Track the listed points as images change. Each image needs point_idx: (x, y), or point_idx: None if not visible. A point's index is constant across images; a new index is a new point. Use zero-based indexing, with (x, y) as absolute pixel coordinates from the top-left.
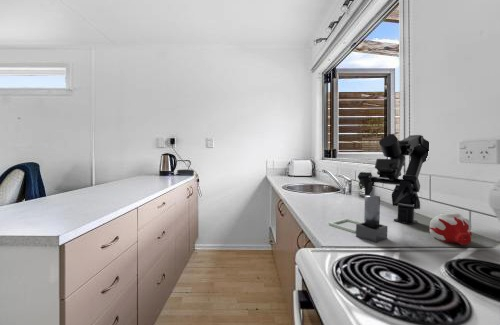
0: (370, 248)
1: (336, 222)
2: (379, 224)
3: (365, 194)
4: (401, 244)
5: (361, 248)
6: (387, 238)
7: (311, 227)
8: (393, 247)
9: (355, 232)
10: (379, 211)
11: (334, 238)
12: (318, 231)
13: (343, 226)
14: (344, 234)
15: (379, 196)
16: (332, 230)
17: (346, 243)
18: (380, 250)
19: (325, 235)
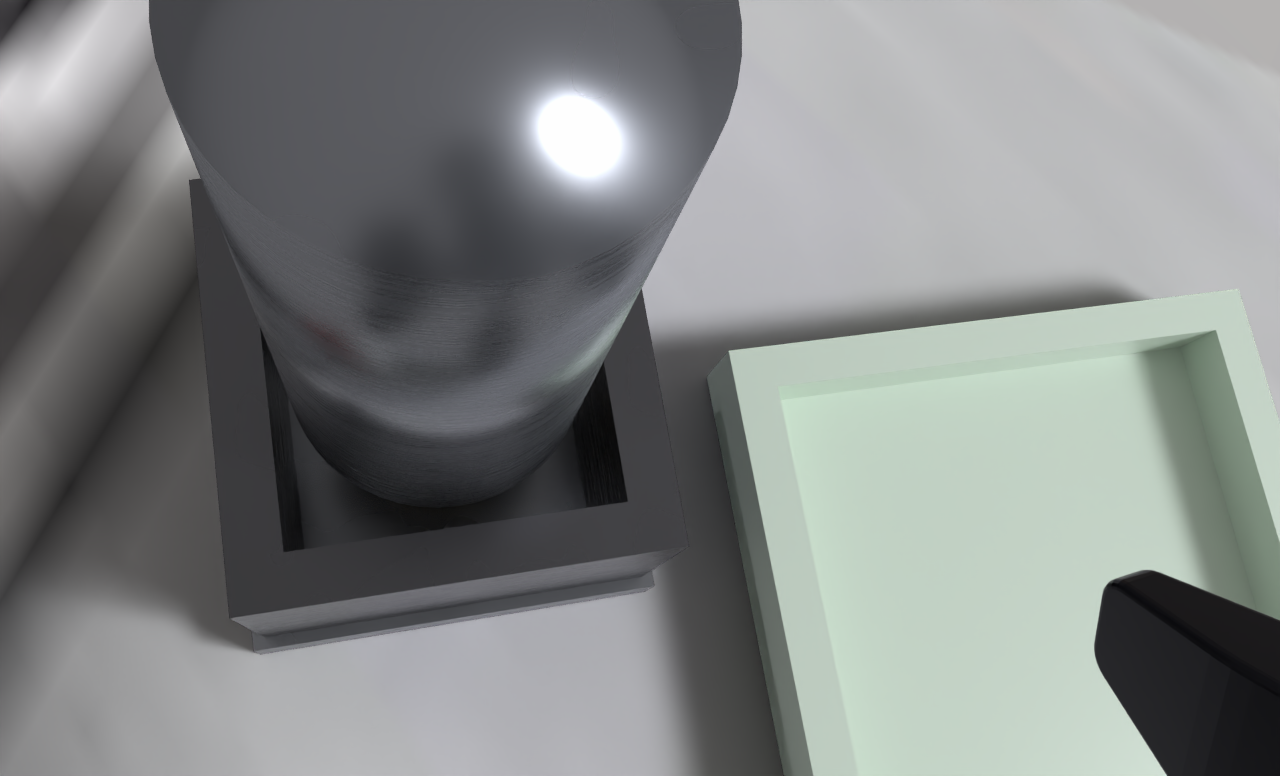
0: None
1: (1245, 466)
2: (401, 568)
3: (1238, 619)
4: (54, 759)
5: None
6: (263, 644)
7: (1253, 85)
8: (50, 496)
9: (723, 374)
10: (250, 301)
11: None
12: (1066, 45)
13: (983, 354)
14: (823, 282)
15: (256, 185)
16: (1041, 261)
17: None
18: (89, 208)
19: (889, 7)
